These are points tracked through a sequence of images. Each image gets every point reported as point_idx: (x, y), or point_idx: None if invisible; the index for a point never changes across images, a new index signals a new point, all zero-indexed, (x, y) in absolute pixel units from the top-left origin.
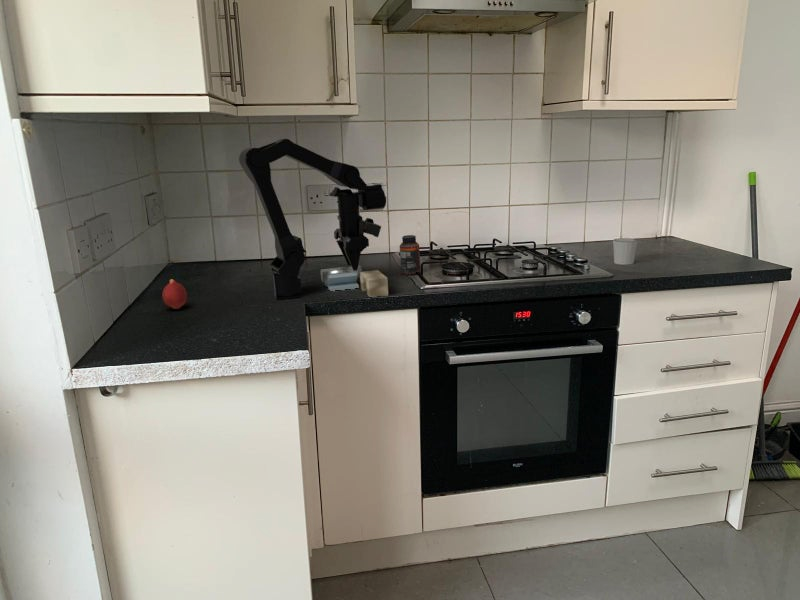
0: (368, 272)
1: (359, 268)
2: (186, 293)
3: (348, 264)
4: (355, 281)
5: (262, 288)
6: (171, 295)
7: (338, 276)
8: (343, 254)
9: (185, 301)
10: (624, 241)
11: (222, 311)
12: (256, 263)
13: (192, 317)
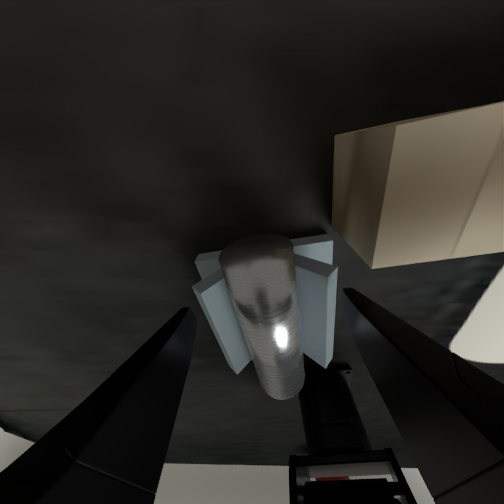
0: (433, 215)
1: (286, 270)
2: (335, 479)
3: (196, 325)
4: None
5: (235, 405)
6: None
7: (332, 337)
8: (175, 414)
9: None
10: None
11: (370, 428)
12: (19, 415)
13: (378, 442)
